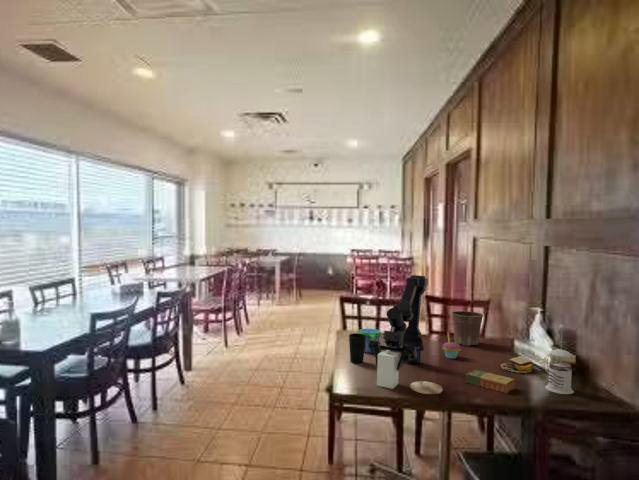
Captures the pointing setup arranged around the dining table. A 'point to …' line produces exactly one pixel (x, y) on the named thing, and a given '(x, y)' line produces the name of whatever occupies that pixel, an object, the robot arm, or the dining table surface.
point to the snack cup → (370, 337)
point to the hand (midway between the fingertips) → (386, 368)
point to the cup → (357, 347)
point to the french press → (559, 372)
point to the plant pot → (467, 327)
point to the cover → (387, 369)
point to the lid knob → (426, 384)
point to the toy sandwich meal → (518, 365)
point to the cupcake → (451, 348)
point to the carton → (490, 381)
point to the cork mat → (432, 390)
